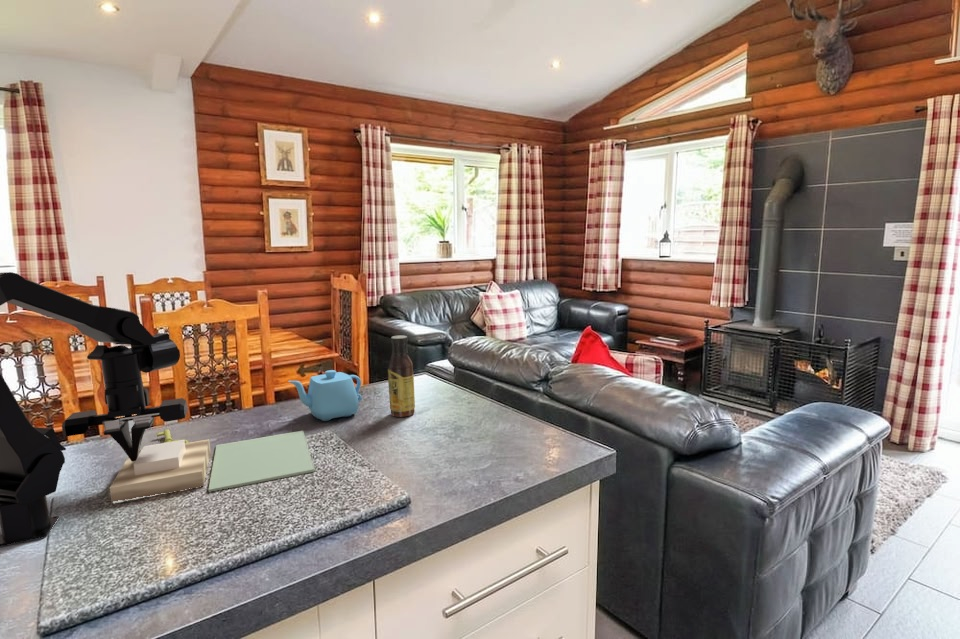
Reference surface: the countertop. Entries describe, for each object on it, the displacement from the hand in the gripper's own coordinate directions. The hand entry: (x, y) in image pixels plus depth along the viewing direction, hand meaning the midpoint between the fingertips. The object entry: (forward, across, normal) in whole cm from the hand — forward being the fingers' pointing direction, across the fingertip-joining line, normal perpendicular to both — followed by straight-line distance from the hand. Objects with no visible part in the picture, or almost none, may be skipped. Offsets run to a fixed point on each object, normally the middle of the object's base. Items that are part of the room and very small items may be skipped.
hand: (134, 460), depth 99 cm
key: (+5, -3, -20) cm, 20 cm away
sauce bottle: (+4, -55, -12) cm, 56 cm away
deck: (+4, -5, 0) cm, 6 cm away
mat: (+4, -22, 0) cm, 22 cm away
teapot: (+4, -38, -22) cm, 44 cm away
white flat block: (+1, -4, 0) cm, 4 cm away
